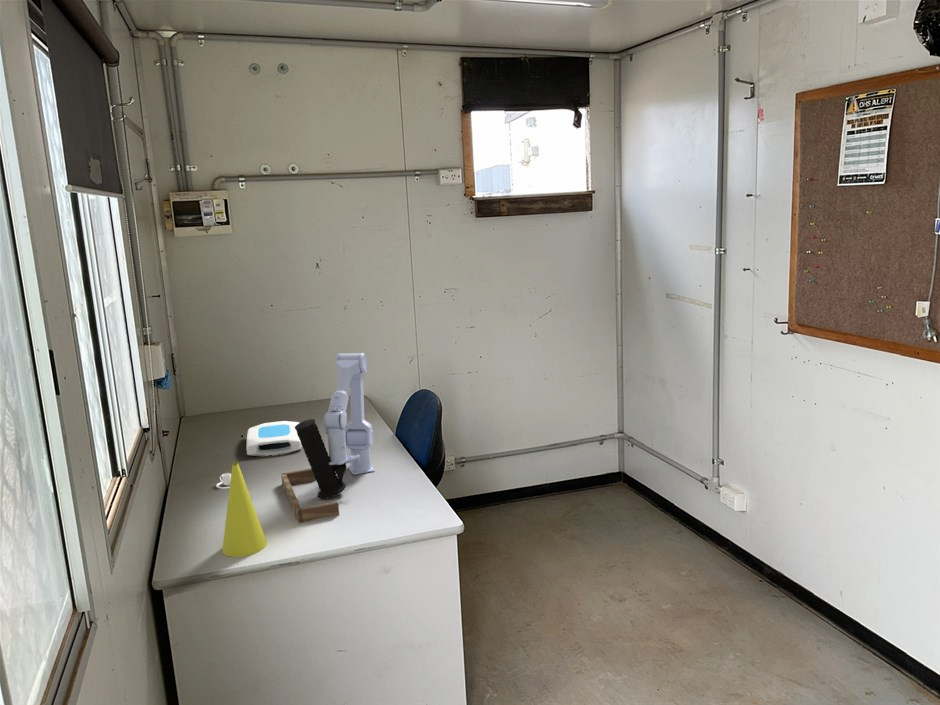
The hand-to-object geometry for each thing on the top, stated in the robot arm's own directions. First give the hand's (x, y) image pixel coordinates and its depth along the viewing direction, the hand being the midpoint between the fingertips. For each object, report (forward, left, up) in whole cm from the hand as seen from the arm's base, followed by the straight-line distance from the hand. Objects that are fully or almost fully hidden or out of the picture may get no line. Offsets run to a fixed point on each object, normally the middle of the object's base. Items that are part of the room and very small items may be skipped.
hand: (340, 485), depth 241 cm
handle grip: (0, -3, -2) cm, 3 cm away
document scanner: (-66, -14, -3) cm, 68 cm away
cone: (+27, -34, -3) cm, 43 cm away
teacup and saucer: (-25, -35, -4) cm, 43 cm away
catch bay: (0, -11, -3) cm, 11 cm away
